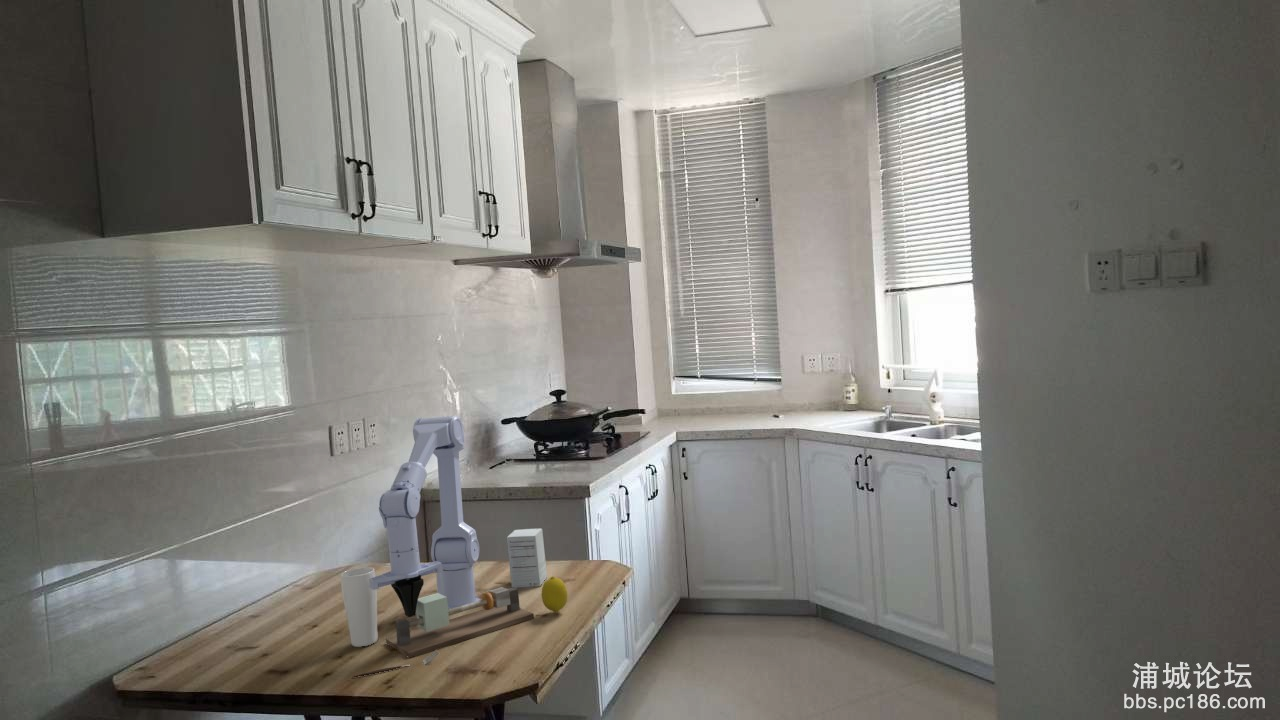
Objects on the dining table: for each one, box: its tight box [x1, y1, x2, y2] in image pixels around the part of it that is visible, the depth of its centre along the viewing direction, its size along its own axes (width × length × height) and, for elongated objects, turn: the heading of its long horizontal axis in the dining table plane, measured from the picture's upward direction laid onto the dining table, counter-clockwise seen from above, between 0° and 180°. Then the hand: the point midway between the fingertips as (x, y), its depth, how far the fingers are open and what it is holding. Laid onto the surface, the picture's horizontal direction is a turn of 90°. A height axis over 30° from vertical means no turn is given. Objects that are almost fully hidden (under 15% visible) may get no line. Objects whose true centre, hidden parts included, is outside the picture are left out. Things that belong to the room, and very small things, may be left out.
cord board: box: [385, 586, 535, 659], centre depth 178 cm, size 12×28×6 cm, turn 128°
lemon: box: [541, 575, 568, 614], centre depth 184 cm, size 6×6×8 cm
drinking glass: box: [340, 566, 379, 648], centre depth 176 cm, size 7×7×15 cm
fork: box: [352, 649, 439, 677], centre depth 160 cm, size 3×16×2 cm, turn 111°
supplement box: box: [506, 528, 548, 589], centre depth 209 cm, size 7×7×13 cm
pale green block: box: [416, 592, 450, 632], centre depth 175 cm, size 4×5×6 cm
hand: (410, 615), depth 172 cm, fingers closed
